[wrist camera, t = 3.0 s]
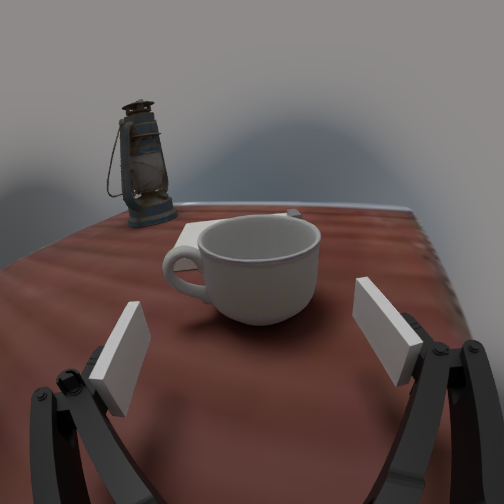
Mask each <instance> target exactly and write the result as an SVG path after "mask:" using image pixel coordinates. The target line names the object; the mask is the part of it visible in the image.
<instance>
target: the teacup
mask: <svg viewBox="0 0 504 504" xmlns="http://www.w3.org/2000/svg"><path fill="white" fill-rule="evenodd" d="M320 241H321V234H320V232H319V230H318V229H317V228H316V226H314V225H313V224H310V223H309V222H307V221H305V220H301V219H298V218H294V217H289V216H280V215H250V216H241V217H235V218H231V219H226V220H223V221H220V222H217V223H215V224H213V225H210V226H209V227H207V228H206V229H204V230H203V231H202V232H201V233H200V235H199V237H198V240H197V243H198V248H199V249H196V248H194V247H191V246H186V245H183V246H178V247H175V248H173V249H172V250H170V251H169V252H168V253H167V255H166V256H165V258H164V261H163V274H164V277H165V279H166V281H167V282H168V284H169V285H170V286H171V287H172V288H174V289H175V290H177V291H178V292H180V293H183V294H186V295H188V296H192V297H196V298H199V299H201V300H202V302H203V303H205V304H213V305H214V306H215V307H216V308H217V309H218V311H220V312H221V313H222V314H224V315H225V316H227V317H229V318H231V319H233V320H236V321H239V322H241V323H244V324H249V325H256V326H264V325H272V324H276V323H279V322H282V321H284V320H286V319H288V318H290V317H292V316H294V315H296V314H297V313H299V312H300V311H301V310H303V309H304V308H305V307H306V306H307V304H308V303H309V302H310V300H311V298H312V296H313V294H314V291H315V287H316V281H317V272H318V258H319V244H320ZM184 258H186V259H190V260H192V261H193V262H194V263H195V264H196V266H197V268H198V270H199V272H200V273H202V274H203V277H204V282H205V285H204V286H199V285H194V284H190V283H187V282H185V281H183V280H181V279H180V278H178V277H177V276H176V274H175V273H174V270H173V269H174V264H175V262H176V261H178V260H180V259H184Z"/></svg>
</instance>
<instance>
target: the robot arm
mask: <svg viewBox="0 0 504 504" xmlns="http://www.w3.org/2000/svg"><path fill="white" fill-rule="evenodd" d="M352 316H353V318H354V319H355V321H356V322H357V324H358V326H359V327H360V329H361V330H362V332H363V334H364V335H365V337H366V338H367V340H368V342H369V343H370V345H371V347H372V348H373V350H374V352H375V353H376V355H377V356H378V358H379V360H380V361H381V363H382V365H383V366H384V368H385V370H386V372H387V373H388V375H389V377H390V378H391V380H392V382H393V384H394V385H395V387H399V386H402V385H405V384H408V383H409V381H410V378H411V376H413V378H414V379H415V382H414V385H413V387H412V389H411V392H410V398H409V401H408V404H407V407H406V410H405V413H404V416H403V419H402V421H401V424H400V427H399V430H398V432H397V435H396V437H395V440H394V442H393V445H392V447H391V450H390V452H389V454H388V457H387V459H386V461H385V463H384V465H383V468H382V470H381V472H380V474H379V476H378V478H377V480H376V482H375V484H374V486H373V488H372V490H371V492H370V493H369V495H368V497H367V498H366V500H365V501H364V503H363V504H418V502H419V500H420V497H421V495H422V492H423V489H424V486H425V481H424V480H423V479H424V475H425V472H426V469H427V466H428V463H429V460H430V457H431V454H432V450H433V447H434V443H435V440H436V436H437V432H438V428H439V424H440V419H441V415H442V410H443V405H444V400H445V395H446V389H447V390H448V398H449V409H450V422H451V443H452V469H451V490H450V504H504V421H503V416H502V411H501V406H500V402H499V397H498V393H497V389H496V385H495V382H494V378H493V374H492V371H491V368H490V364H489V361H488V358H487V355H486V352H485V349H484V347H483V345H482V344H481V343H480V342H478V341H476V340H467V341H466V342H465V343H464V344H463V347H462V348H461V349H450V348H449V346H447V345H446V344H444V343H441V342H434V340H433V339H432V338H431V337H430V336H429V335H428V333H427V332H426V331H425V330H424V329H423V328H422V326H421V325H420V324H419V323H418V322H417V321H416V320H415V319H414V317H412V316H411V315H409V314H407V313H401V314H399V312H398V311H397V310H396V309H395V308H394V307H393V305H392V304H391V303H390V302H389V301H388V300H387V299H386V297H385V296H384V295H383V294H382V293H381V292H380V291H379V290H378V288H377V287H376V286H375V285H374V284H373V283H372V282H371V281H370V280H369V278H368V277H363V278H356V285H355V296H354V305H353V314H352ZM150 340H151V335H150V332H149V329H148V326H147V323H146V320H145V316H144V313H143V310H142V307H141V304H140V301H138V302H128V304H127V306H126V308H125V310H124V311H123V313H122V315H121V317H120V319H119V320H118V322H117V324H116V326H115V328H114V330H113V332H112V333H111V335H110V337H109V339H108V341H107V343H106V345H105V346H99V347H98V348H97V349H96V350H94V351H93V353H92V355H91V357H90V359H89V361H88V362H87V365H86V366H85V368H84V370H83V372H82V374H81V375H80V374H79V372H78V371H77V370H75V369H67V370H64V371H63V372H61V373H60V374H59V375H58V377H57V379H56V384H57V385H58V387H59V388H60V390H61V391H62V392H60V393H53V392H52V391H51V389H50V388H48V387H41V388H38V389H37V390H36V391H35V392H34V393H33V395H32V398H31V412H30V469H31V482H32V492H33V500H34V504H91V503H90V499H89V495H88V491H87V487H86V482H85V478H84V473H83V468H82V463H81V457H80V451H79V445H78V438H77V430H78V432H79V434H80V437H81V439H82V441H83V443H84V446H85V448H86V450H87V452H88V454H89V456H90V458H91V460H92V462H93V464H94V466H95V468H96V470H97V472H98V473H99V475H100V477H101V479H102V481H103V482H104V484H105V486H106V488H107V489H108V491H109V493H110V494H111V496H112V498H113V499H114V501H115V502H116V504H167V503H166V502H165V500H164V499H163V498H162V497H161V495H160V494H159V493H158V492H157V491H156V489H155V488H154V487H153V485H152V484H151V483H150V482H149V480H148V479H147V478H146V476H145V475H144V473H143V472H142V471H141V469H140V468H139V467H138V465H137V464H136V462H135V461H134V459H133V458H132V456H131V455H130V453H129V452H128V450H127V449H126V447H125V446H124V444H123V443H122V441H121V439H120V438H119V436H118V434H117V433H116V431H115V429H114V428H113V426H112V424H111V423H110V421H109V419H108V417H107V416H106V412H107V410H109V412H110V413H111V415H112V416H118V417H126V415H127V411H128V408H129V404H130V401H131V398H132V395H133V391H134V388H135V385H136V382H137V379H138V376H139V372H140V369H141V366H142V363H143V360H144V357H145V354H146V352H147V349H148V346H149V343H150ZM76 429H77V430H76Z"/></svg>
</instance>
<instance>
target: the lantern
mask: <svg viewBox="0 0 504 504" xmlns="http://www.w3.org/2000/svg"><path fill="white" fill-rule="evenodd" d="M153 104H154V102H149V101H136V102H134V103H131V104H129V105H126V106H124V107H123V108H122V109H123V110H126V115H127V117H124V120H123V119H121V120H120V121H119V125H120V127H119V130H118V134H119V131H120V152H121V178H122V179H121V181H122V193H123V194H120V195H123V200H124V201H125V203H126V205H127V206H128V209H129V215H130V217H129V219H128V225H129V226H132V227H143V226H150V225H155V224H159V223H163V222H166V221H168V220H171V219H173V218H175V217H176V216H177V215H178V214H177V210H176V209H175V208H174V207H173V203H172V198H171V197H168V194H167V193H166V192H167V191H168V176H167V172H166V168H165V162H164V158H163V153H162V148H161V143H160V138H159V134H161V133H159V132H158V126H157V123H156V120H154V113H153V112H150V111H151V107H150V106H151V105H153ZM144 107H147V109H146V108H145V109H144ZM129 110H133V111H129ZM118 134H117V137H116V141H115V144H114V148H113V152H112V157H111V162H110V167H109V173H108V179H107V192H108V185H109V175H110V168H111V164H112V158H113V154H114V150H115V146H116V142H117V138H118ZM157 188H158V189H159V190H158V189H157ZM134 190H136V191H135V192H136V193H135V192H134ZM155 190H158V191H156V192H155ZM134 193H135V195H136V194H138V195H139V194H140V193H141V195H142V196H141V197H139V198H137V199H135V198H134V197H135V195H134ZM108 194H109V192H108ZM132 194H133V195H132ZM109 196H111V197H117V196H119V195H116V196H112V195H111V194H109Z"/></svg>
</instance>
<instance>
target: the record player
mask: <svg viewBox="0 0 504 504" xmlns="http://www.w3.org/2000/svg"><path fill="white" fill-rule="evenodd" d="M271 215H280V216H289V217H294V218H298V219H301V220H302V215H301V214H300V213H299V212H298V211H297V209H289V210H287V213H282V214H271ZM223 220H226V219H222V220H213V221H204V222H196V223H187V224H186V226H185V227H184V229H183V231H182V233H181V235H180V237H179V239H178V241H177V243H176V244H175V246H174V248H175V247H178V246H183V245H186V246H191V247H194V248H196V249H199V248H198V243H197V240H198V237H199V235H200V233H201V232H202V231H203V230H204V229H206V228H207V227H209V226H210V225H213V224H215V223H217V222H220V221H223ZM190 269H198V268H197V266H196V264H195V263H194V262H193V261H192V260H190V259H186V258H184V259H180V260H178V261H176V262H175V264H174V269H173V270H174V271H180V270H190Z"/></svg>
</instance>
